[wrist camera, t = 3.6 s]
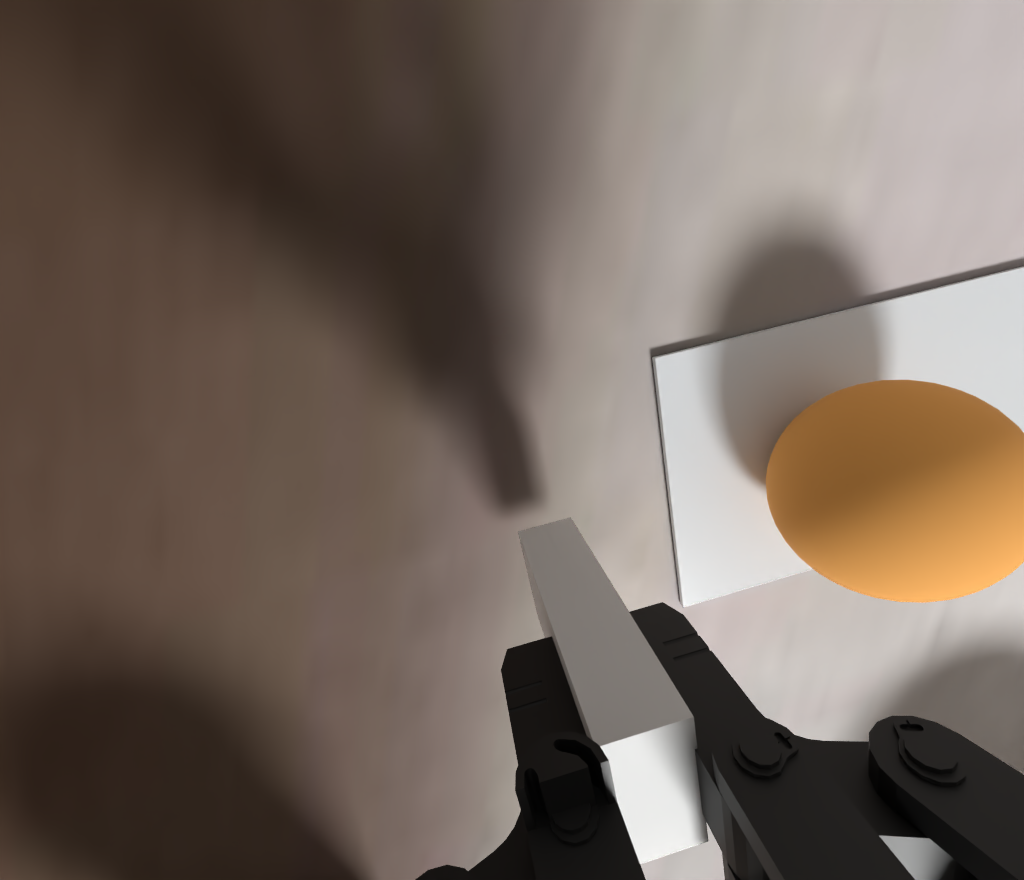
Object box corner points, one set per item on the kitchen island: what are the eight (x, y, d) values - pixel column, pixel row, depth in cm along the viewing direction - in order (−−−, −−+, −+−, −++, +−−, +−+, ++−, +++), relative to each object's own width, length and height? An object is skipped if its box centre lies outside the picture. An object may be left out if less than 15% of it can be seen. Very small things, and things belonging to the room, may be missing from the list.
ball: (692, 497, 16) (835, 611, 10) (793, 331, 15) (1019, 357, 9) (820, 556, 18) (1005, 682, 12) (921, 411, 16) (1179, 474, 11)
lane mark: (680, 604, 17) (683, 607, 17) (652, 357, 14) (655, 358, 14) (1262, 433, 19) (1269, 434, 19) (1339, 188, 16) (1349, 187, 16)
